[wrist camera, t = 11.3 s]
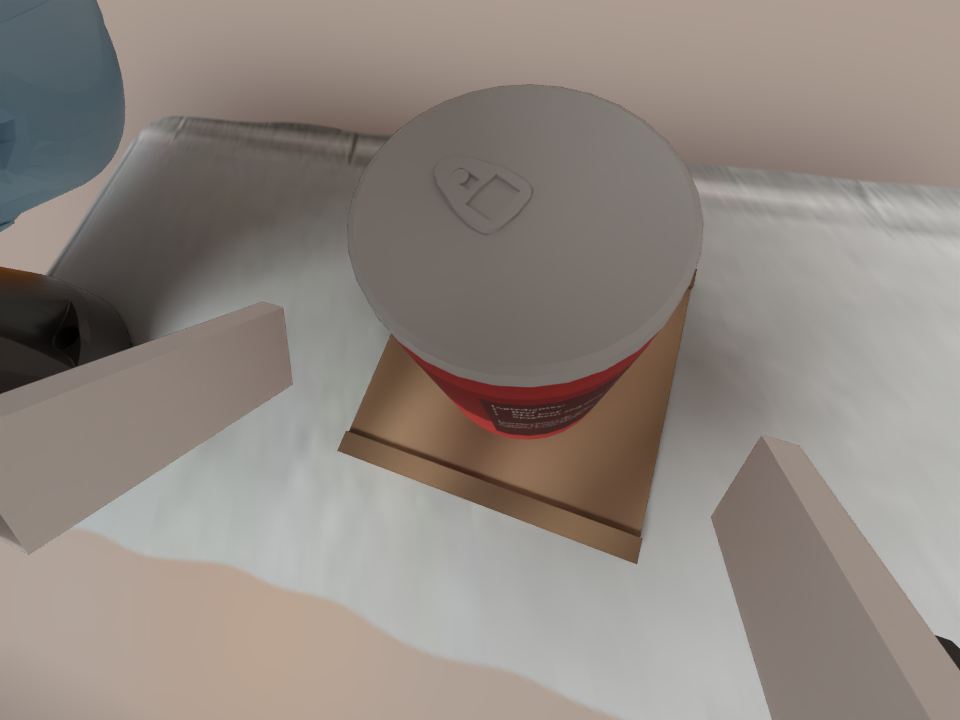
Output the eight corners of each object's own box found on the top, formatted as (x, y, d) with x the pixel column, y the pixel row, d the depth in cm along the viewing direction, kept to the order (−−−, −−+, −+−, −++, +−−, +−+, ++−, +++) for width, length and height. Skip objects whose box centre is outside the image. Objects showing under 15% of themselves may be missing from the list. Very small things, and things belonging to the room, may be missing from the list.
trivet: (347, 452, 19) (337, 450, 18) (444, 227, 23) (440, 215, 22) (629, 558, 16) (637, 564, 15) (687, 280, 20) (696, 269, 19)
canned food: (485, 272, 20) (441, 51, 10) (628, 328, 18) (759, 127, 8) (415, 395, 19) (274, 284, 8) (565, 472, 17) (628, 453, 6)
